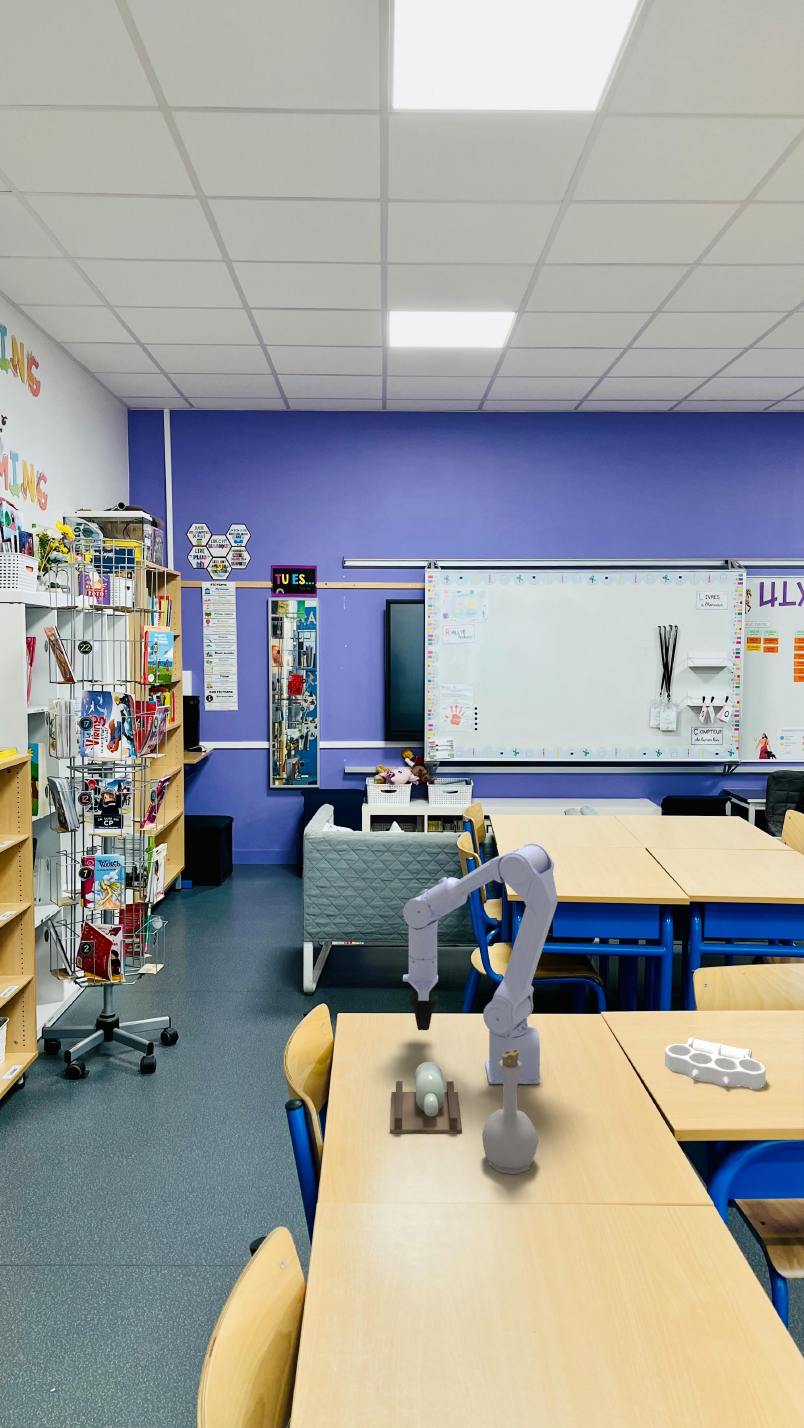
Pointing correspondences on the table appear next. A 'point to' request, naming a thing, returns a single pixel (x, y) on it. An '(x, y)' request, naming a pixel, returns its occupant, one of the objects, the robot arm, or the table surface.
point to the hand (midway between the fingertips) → (422, 1021)
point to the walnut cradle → (416, 1121)
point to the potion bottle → (509, 1125)
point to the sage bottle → (429, 1088)
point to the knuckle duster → (715, 1063)
